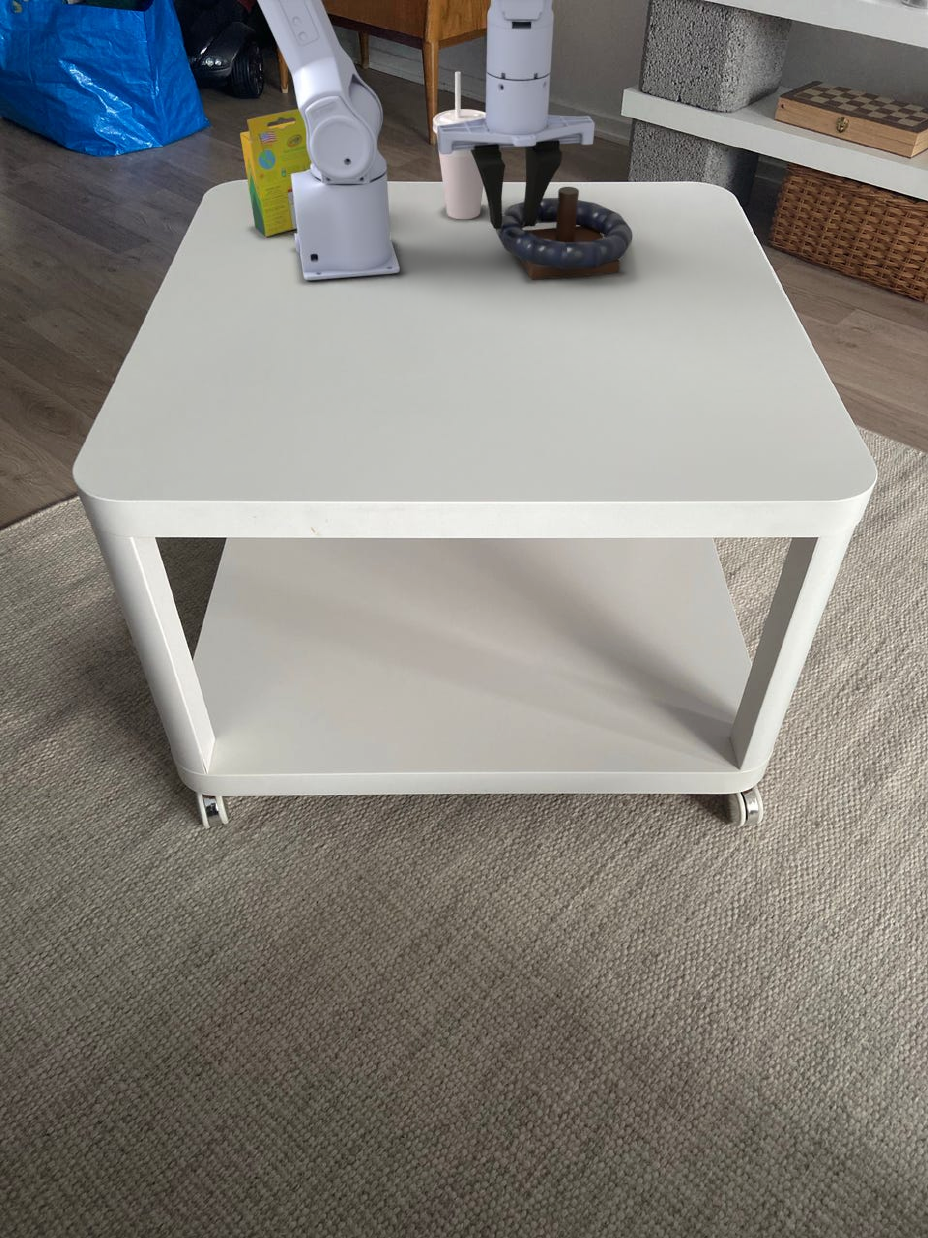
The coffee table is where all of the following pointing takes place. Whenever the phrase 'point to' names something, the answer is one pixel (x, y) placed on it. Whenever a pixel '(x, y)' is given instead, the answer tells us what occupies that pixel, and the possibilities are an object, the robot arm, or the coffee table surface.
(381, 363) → the coffee table surface
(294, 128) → the crayon box
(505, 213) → the dark blue ring
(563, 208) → the wooden ring toss peg
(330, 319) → the coffee table surface
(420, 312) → the coffee table surface
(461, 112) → the smoothie
